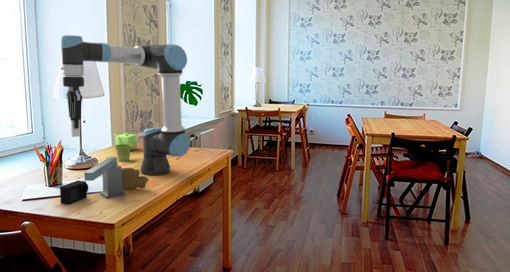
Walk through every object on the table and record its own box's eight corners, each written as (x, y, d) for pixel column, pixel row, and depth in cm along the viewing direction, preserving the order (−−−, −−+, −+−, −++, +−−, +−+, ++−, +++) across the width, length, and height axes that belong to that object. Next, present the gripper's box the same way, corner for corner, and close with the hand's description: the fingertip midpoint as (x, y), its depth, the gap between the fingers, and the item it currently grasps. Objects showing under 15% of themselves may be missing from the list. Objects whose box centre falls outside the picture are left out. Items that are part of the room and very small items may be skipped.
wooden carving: (148, 187, 194) (148, 166, 192) (147, 190, 189) (147, 168, 188) (111, 188, 191) (110, 166, 190) (109, 191, 187) (108, 168, 185)
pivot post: (118, 190, 187) (117, 163, 185) (125, 195, 181) (124, 166, 179) (100, 193, 182) (99, 165, 180) (106, 198, 176) (105, 169, 174)
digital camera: (72, 205, 167) (71, 187, 166) (60, 203, 169) (59, 186, 168) (89, 197, 177) (88, 181, 176) (78, 196, 179) (77, 180, 178)
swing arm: (108, 163, 182) (108, 156, 181) (118, 163, 182) (118, 157, 181) (82, 180, 155) (82, 172, 154) (94, 180, 155) (94, 172, 154)
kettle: (117, 153, 265) (117, 135, 264) (111, 149, 277) (111, 132, 275) (141, 151, 274) (141, 133, 272) (134, 147, 285) (134, 130, 283)
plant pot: (133, 161, 244) (132, 146, 242) (115, 162, 240) (115, 147, 239) (131, 158, 252) (131, 143, 251) (114, 159, 249) (114, 144, 247)
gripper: (58, 75, 168) (61, 134, 172) (67, 76, 158) (70, 139, 162) (78, 75, 172) (80, 133, 176) (88, 76, 162) (90, 138, 166)
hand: (75, 136), depth 169 cm, fingers closed
